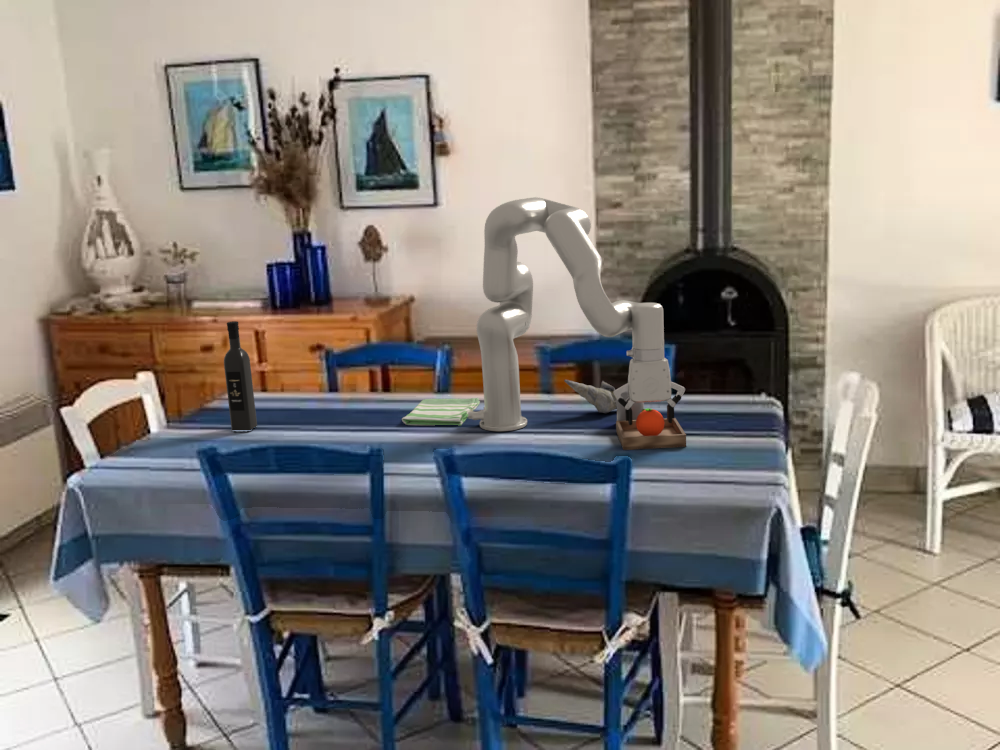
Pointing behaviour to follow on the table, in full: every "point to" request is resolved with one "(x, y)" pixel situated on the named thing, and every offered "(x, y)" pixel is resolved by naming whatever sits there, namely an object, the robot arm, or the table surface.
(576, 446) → the table surface
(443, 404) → the dish towel
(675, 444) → the walnut tray
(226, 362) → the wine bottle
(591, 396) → the seashell
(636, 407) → the grey rounded cylinder
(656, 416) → the clementine
